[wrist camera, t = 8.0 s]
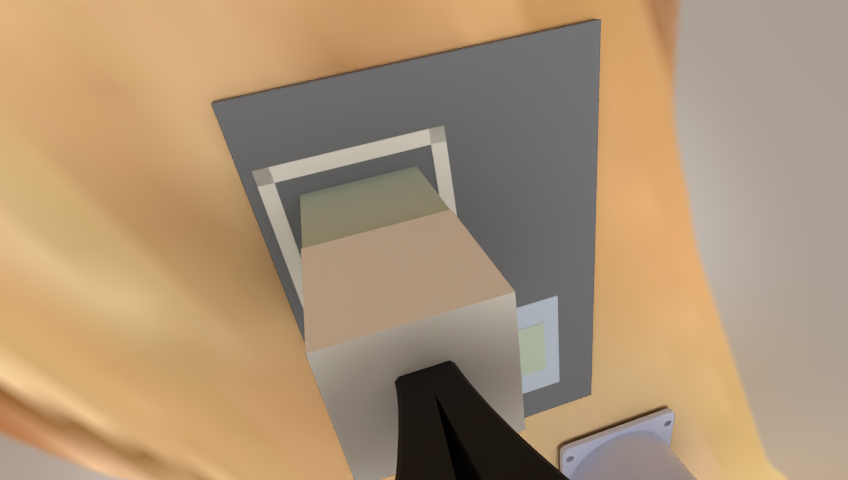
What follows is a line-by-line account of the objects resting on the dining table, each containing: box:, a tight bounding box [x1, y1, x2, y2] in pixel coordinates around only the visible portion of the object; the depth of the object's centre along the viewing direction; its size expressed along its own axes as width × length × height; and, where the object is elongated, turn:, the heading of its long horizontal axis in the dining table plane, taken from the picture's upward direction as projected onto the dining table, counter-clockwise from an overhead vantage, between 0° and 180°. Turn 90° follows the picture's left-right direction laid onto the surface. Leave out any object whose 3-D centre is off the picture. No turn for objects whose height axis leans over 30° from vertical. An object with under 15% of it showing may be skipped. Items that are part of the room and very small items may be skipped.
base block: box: [300, 166, 450, 248], centre depth 16 cm, size 4×4×4 cm
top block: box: [301, 210, 525, 480], centre depth 12 cm, size 4×4×4 cm
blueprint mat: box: [212, 19, 601, 418], centre depth 21 cm, size 20×14×1 cm
